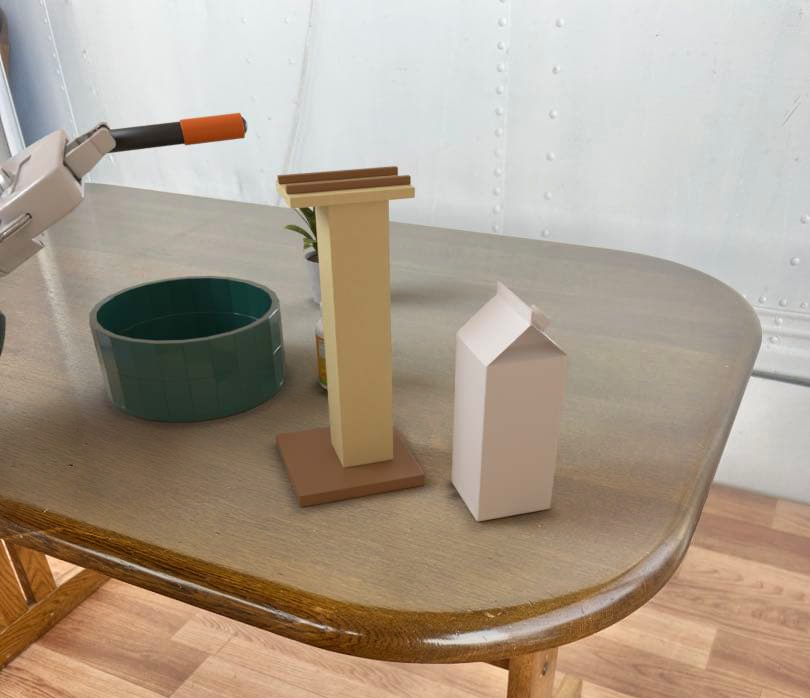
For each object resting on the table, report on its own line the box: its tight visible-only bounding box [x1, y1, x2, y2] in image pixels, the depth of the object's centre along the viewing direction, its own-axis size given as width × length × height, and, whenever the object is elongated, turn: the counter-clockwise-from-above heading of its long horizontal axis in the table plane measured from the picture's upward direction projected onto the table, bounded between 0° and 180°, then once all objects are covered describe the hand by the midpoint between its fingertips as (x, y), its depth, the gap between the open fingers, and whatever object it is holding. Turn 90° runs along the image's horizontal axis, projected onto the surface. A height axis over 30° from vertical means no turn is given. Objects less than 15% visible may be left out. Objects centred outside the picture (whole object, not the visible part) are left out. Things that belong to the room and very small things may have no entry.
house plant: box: [283, 207, 321, 306], centre depth 111 cm, size 14×14×16 cm
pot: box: [88, 275, 287, 423], centre depth 93 cm, size 21×21×9 cm
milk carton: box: [451, 281, 569, 522], centre depth 70 cm, size 7×7×19 cm
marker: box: [83, 112, 248, 154], centre depth 80 cm, size 16×2×2 cm, turn 108°
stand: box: [275, 165, 425, 508], centre depth 72 cm, size 12×12×27 cm
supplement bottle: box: [314, 301, 328, 391], centre depth 92 cm, size 5×5×10 cm
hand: (110, 131), depth 78 cm, fingers closed on marker, 2 cm apart
